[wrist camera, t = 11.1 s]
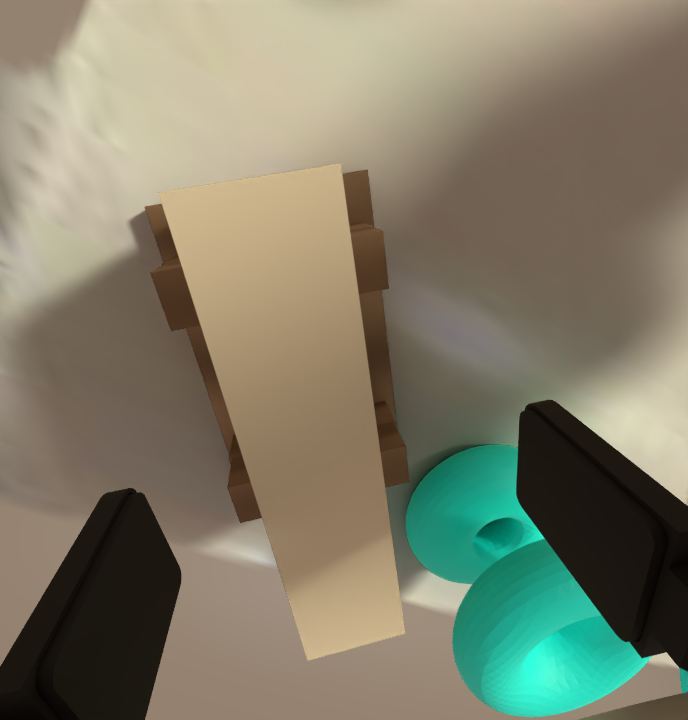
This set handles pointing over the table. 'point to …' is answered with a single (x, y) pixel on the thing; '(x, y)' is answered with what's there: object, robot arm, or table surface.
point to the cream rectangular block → (297, 389)
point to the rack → (370, 285)
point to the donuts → (512, 592)
